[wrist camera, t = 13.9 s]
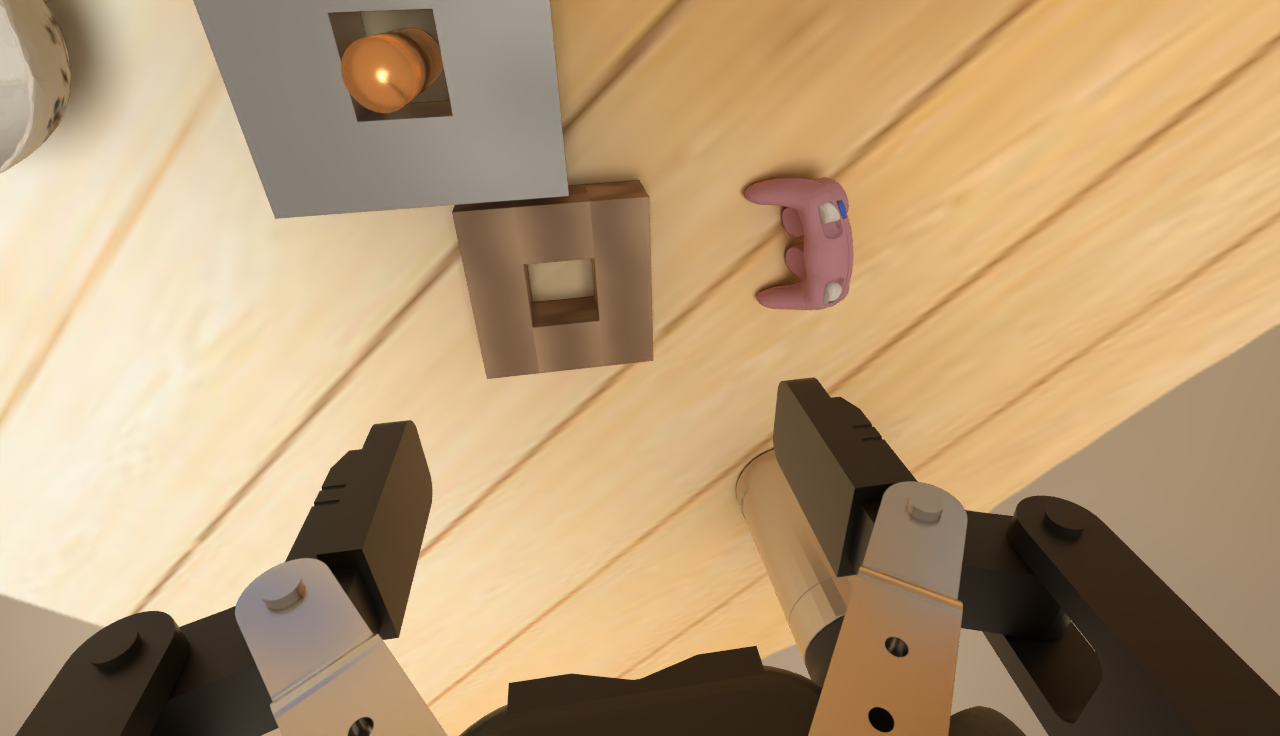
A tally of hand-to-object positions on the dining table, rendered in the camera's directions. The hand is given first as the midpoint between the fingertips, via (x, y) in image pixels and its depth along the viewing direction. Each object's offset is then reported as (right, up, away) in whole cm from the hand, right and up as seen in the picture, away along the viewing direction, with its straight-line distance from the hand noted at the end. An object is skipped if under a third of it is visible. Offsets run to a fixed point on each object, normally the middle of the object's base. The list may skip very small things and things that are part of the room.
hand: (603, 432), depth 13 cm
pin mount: (-5, +8, +29) cm, 31 cm away
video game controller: (+12, +11, +31) cm, 35 cm away
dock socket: (-12, +20, +21) cm, 31 cm away
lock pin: (-12, +20, +21) cm, 31 cm away
